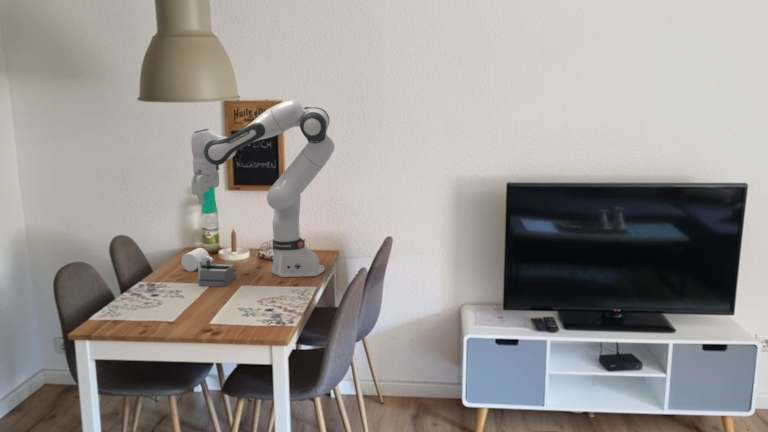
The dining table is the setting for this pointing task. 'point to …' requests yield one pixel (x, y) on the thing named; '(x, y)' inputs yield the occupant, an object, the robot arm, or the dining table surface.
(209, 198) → the candle
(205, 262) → the light grey block
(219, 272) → the grey box
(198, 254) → the mug
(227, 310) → the dining table surface
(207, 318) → the dining table surface
